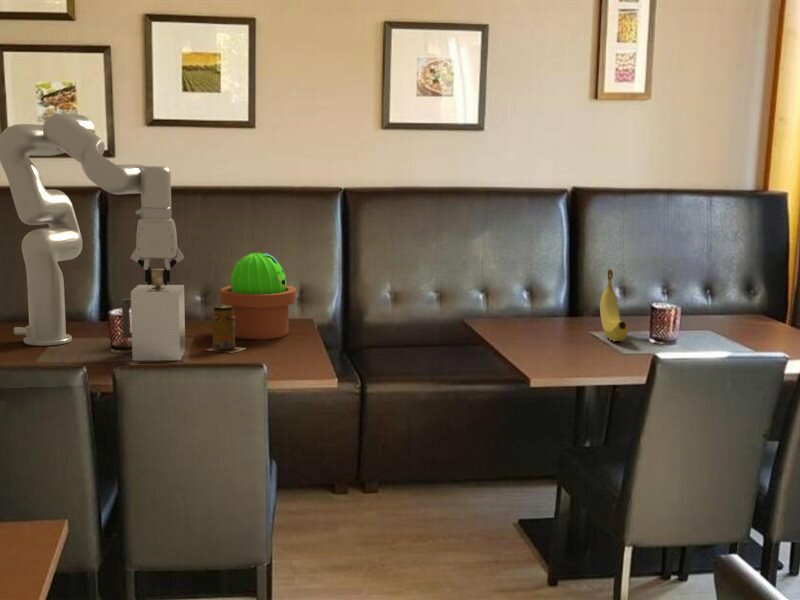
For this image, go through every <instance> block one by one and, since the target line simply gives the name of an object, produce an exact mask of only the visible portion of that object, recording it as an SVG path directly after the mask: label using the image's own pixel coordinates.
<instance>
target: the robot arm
mask: <svg viewBox="0 0 800 600" xmlns="http://www.w3.org/2000/svg"><path fill="white" fill-rule="evenodd" d="M105 148H106V147H105V142H104V140H103V139H102V138H101V137H99V135H97V134H96V128H95V125H94V123H93V122H92V120H90V119H89V118H88V117H87V116H85V115H83V114H73V113H71V114H70V113H55V114H52V115H50V116H48V117H47V118H46V120H44V122H43V124H34V123H33V124H32V123H30V124H29V123H18V124H13V125H10V126H8V127H7V128H5V129H4V130H3V131H2V132H1V134H0V164H1V167H2V170H3V171H4V173H5V177H6V178H7V182H8V185H9V190H10V193H11V195H12V196H11V197H12V199H13V203H14V206H15V210H16V213H17V216H18V218H19V219H20V221H21V222H22V223H24V224H25V225H29V226H38V225H48V227H45V228H37V229H34V230H30V232H28V233H27V234H26V235H25V236H24V237H23V239H22V241H21V252H22V255H23V256H22V257H23V261H24V264H25V271H26V273H25V274H26V286H27V307H28V325H27V326H25V327H22V326H21V327H20V326H19V327H18V326H15V327H14V328H13V334H14V335H16V336H22V335H24V336H26V337H24V338H23V343H24V344H26V345H28V346H29V345H30V346H38V347H39V346H43V347H45V346H58V345H65V344H68V343H70V342H71V341H72V340H73V338H72V337H73V336H72V335H70V334H68V333H67V331H66V329H67V326H66V303H65V301H66V299H65V283H64V281H65V280H64V275H63V271H62V270H61V268H60V266H59V264H58V262H63V261H69V260H74V259H76V258H77V257H78V256H79V255H80V254H81V253H82V250H83V238H82V233H81V231H80V225H79V223H78V219H77V216H76V212H75V209H74V206H73V203H72V200H71V199H70V198H69V196H68V195H67V194H65V192H64V191H61V190H59V189H46V188H45V186H44V183H43V180H42V176H41V173H40V171H39V169H38V167H37V166H36V165H35V164H34V163H33V161H32V160H31V159H30V157H31V156H33V157H36V156H37V157H38V156H39V157H40V156H41V157H44V156H45V157H46V156H47V157H50V156H56V155H57V156H58V155H62V154H64V153H65V154H66V155H68V156H69V157H71V158H73V160H75V161H76V162H78V163H79V164H81V169H82V171H83V173H84V174H85V176H86V177H87V179H89V180H90V181H91V182H92V183H93V184H95V185H96V186H97V187H99V188H101V189H102V190H104V191H106V192H108V193H110V194H112V195H130V194H131V195H132V194H133V195H134V194H137V195H138V194H140V202H141V203H140V205H141V207H140V208H139V209H135V215H136V216H140V219H138V221H137V227H136V238H135V239H136V240H135V243H136V246H135V249H134V250H133V252H132V254H131V255H130V260H132V261H134V262H136V263H138V264H139V266H141V267H142V268H143V270H144V280H145V283H147V285H151V269H152V268H151V259H152V260H153V259H154V260H156V259H157V260H158V259H160V260H161V259H163V260H164V269H165V270H164V285H169V282H171V281H172V279H171V278H172V277H171V269H172V268H173V267H174V266H175V265H176V264H178V263H179V262H181V261H183V260H184V259H185V256H184V254H183V252H182V251H181V250H180V248H179V246H178V236H177V235H178V234H177V228H176V223H175V220H174V219H172V178H171V177H172V176H171V175H172V174H171V170H170V168H169V167H167V166H163V165H162V166H161V165H154V166H153V165H152V166H150V165H143V164H116V163H114V162H112V161H110V159H108V158H106V157H105V156H103V155H104V153H105ZM171 259H172V260H171Z"/></svg>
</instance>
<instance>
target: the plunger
mask: <svg viewBox="0 0 800 600" xmlns="http://www.w3.org/2000/svg"><path fill="white" fill-rule="evenodd" d="M164 270H165V268H151V285H152V286H155V289H161V286H163V285H164Z"/></svg>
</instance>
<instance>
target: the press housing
mask: <svg viewBox="0 0 800 600" xmlns="http://www.w3.org/2000/svg"><path fill="white" fill-rule="evenodd" d="M130 308H131V309H130ZM130 311H131V312H130ZM121 314H122V322H121V323H122V338H126V339H131V347H132V349H131V351H132V352H131V356H132V358H131V359H132V361H133V362H134V361H135V362H137V361H139V362H141V361H144V362H145V361H147V362H149V361H181V359H182V357H183V356H184V353H186V329H185V328H186V327H185V326H186V325H185V324H186V323H185V322H186V320H185V319H186V317H185V285H184V284H168V285H163V286H161V289H155V286H152V285H148V284H138V285H136V286H135V287H134V288H133V289H132V290H131V291H130V298H122V299H121ZM130 314H131V316H130ZM130 318H131V320H130ZM130 323H131V324H130Z"/></svg>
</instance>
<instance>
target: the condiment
mask: <svg viewBox="0 0 800 600" xmlns="http://www.w3.org/2000/svg"><path fill="white" fill-rule="evenodd" d="M243 350H247V347H239V346H236V338H235V316H234V312H233V306H229V305H225V304H220V305H215V306H214V307H213V316H212V348H207V349H206V351H209V352H211V351H212V352H220V353H221V352H222V353H230V354H232V353H237V352H240V351H243Z"/></svg>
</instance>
